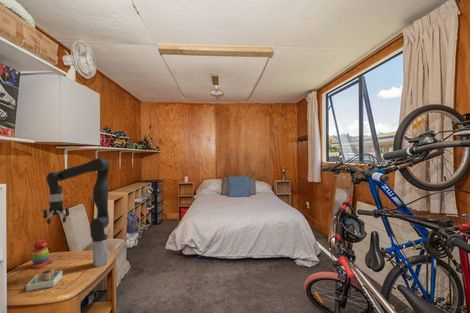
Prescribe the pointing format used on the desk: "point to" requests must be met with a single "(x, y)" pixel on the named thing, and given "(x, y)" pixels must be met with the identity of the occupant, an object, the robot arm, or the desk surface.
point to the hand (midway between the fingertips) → (56, 223)
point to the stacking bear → (40, 254)
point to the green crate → (36, 286)
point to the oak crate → (45, 276)
